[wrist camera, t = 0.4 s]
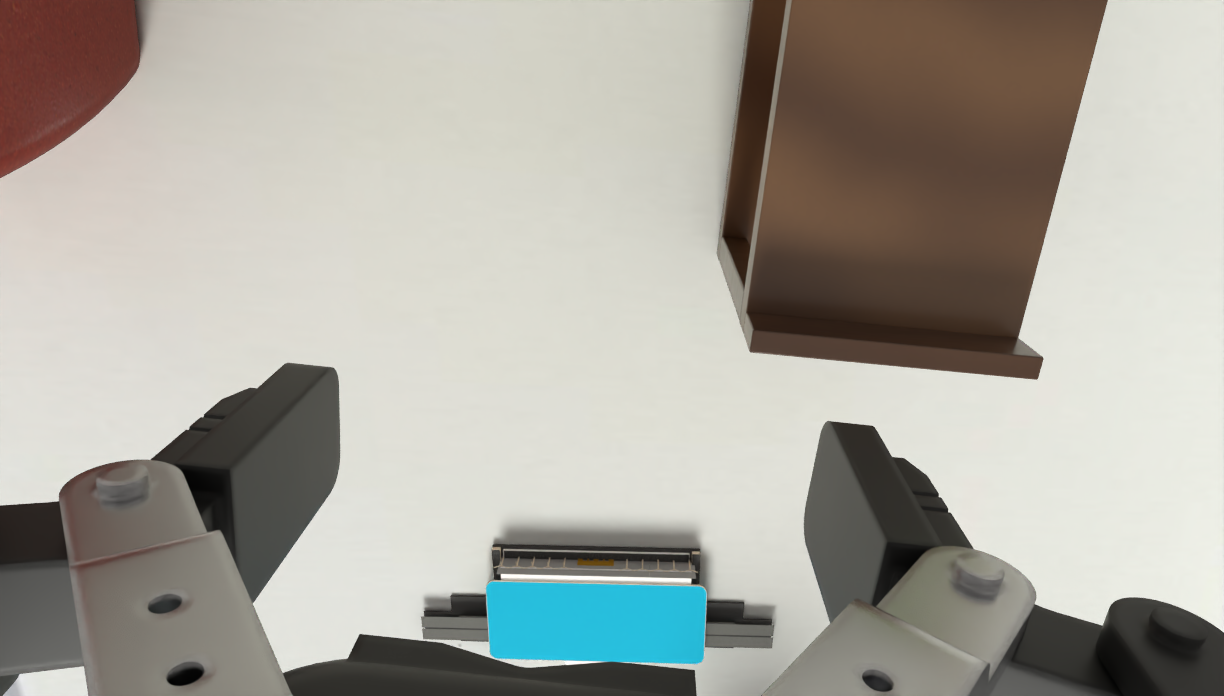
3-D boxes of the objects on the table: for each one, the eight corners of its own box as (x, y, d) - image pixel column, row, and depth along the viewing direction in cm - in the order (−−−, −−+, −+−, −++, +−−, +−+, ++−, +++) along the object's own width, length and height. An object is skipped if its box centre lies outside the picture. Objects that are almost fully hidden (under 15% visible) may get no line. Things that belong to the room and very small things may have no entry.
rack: (761, -88, 36) (828, -171, 22) (984, -68, 35) (1182, -139, 22) (716, 255, 41) (749, 352, 27) (911, 273, 41) (1038, 380, 27)
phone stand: (433, 712, 51) (426, 733, 49) (418, 542, 47) (410, 559, 45) (764, 721, 50) (767, 743, 48) (777, 550, 46) (781, 568, 44)
